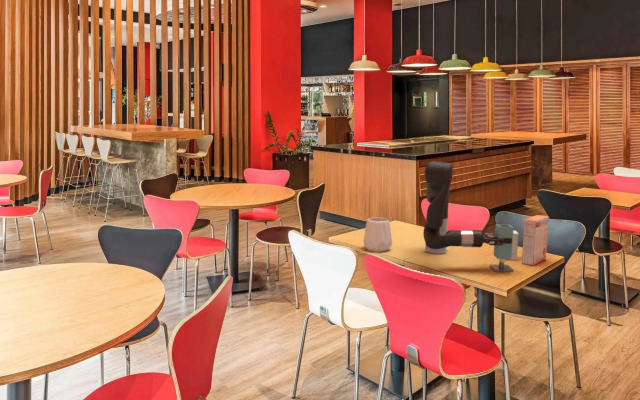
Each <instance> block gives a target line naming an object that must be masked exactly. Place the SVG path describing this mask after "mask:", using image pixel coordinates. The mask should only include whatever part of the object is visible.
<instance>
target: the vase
mask: <svg viewBox="0 0 640 400" xmlns="http://www.w3.org/2000/svg"><path fill="white" fill-rule="evenodd" d="M364 229H365V230H364V234H363V245H364V248H366V249H367V251H369V252H373V253H374V252H375V253H378V252H379V253H382V252H384V253H385V252H387V251H388V250H390V249H391V247H392V244H393V238H392V237H393V236H392V231H391V230H392V229H391V223H390V220H389V219H388V218H386V217H369V218H367V220H366V224H365V228H364Z"/></svg>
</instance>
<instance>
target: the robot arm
mask: <svg viewBox="0 0 640 400" xmlns="http://www.w3.org/2000/svg"><path fill="white" fill-rule="evenodd" d="M453 174H454V167H453V164H452V163H450V162H442V161H432V160H431V161H428V163H427V164H426V165H425V168H424V180H425V181H424V182H426V183H425V185H426V194H425V195H426V201H427V202H428V203H429V204H428V207H427V210H426V218H425V219H426V220H425V225H424V228H423V240H424V243H425V249H424V251H425V252H427V253H429V254H430V253H431V254H433V255H434V254H435V255H442V254H446V253H447V248H450V247H463V248H482V247H483V245H484V244H485V245H489V246H494V245H503V244H511V243H512V239H511V238H498V237H497V236H495V232H494V233H493V232H483V231H482V230H481V229H476V230H475V229H461V230H458V229H451V230H450V229H449V230H448V225H449V224H448V223H449V219H448V218H449V203H450V195H451V193H450V192H451V191H450V188H451V186H452V180H453ZM498 241H500V242H498Z"/></svg>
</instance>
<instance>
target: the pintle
mask: <svg viewBox="0 0 640 400" xmlns="http://www.w3.org/2000/svg"><path fill="white" fill-rule="evenodd" d="M505 260H506V259H498V264H496V263H495V264H489V268H490V269H491V270H492V271H493V272H494V273H514V271H515V270H514V269H513V268H512V267H511V266H510V265H509V264H505V262H506V261H505Z"/></svg>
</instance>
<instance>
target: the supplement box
mask: <svg viewBox="0 0 640 400" xmlns="http://www.w3.org/2000/svg"><path fill="white" fill-rule="evenodd" d="M519 235H520V233H519V232H518V231H517V230H514V229H513V241H512V254H511V259H509V260H511V261H515V260H516V261H517V260H518V259H517V258H518V247H519Z"/></svg>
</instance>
